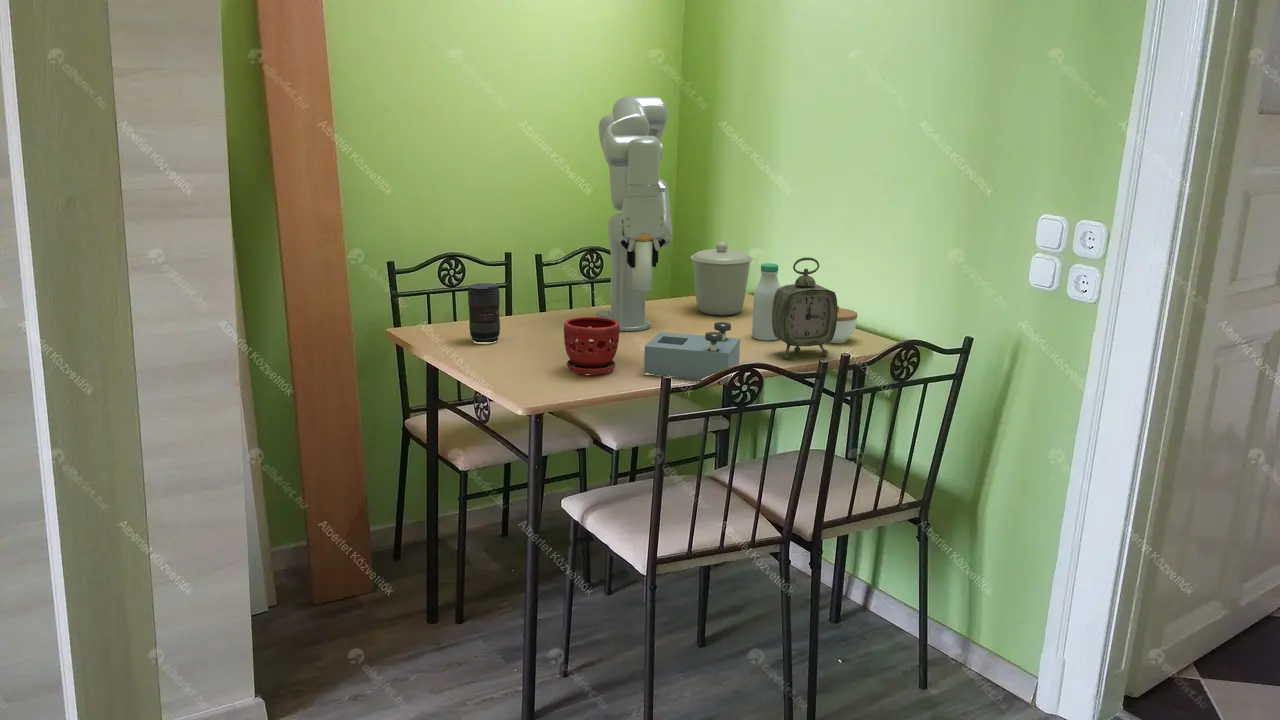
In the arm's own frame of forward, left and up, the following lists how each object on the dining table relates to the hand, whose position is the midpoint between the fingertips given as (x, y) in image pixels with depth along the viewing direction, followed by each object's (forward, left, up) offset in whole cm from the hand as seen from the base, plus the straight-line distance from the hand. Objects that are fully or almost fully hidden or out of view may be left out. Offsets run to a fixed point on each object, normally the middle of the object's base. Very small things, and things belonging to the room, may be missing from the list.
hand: (642, 265), depth 244 cm
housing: (+15, -8, -23) cm, 29 cm away
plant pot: (-8, -15, -23) cm, 29 cm away
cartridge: (0, 0, -6) cm, 6 cm away
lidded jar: (+45, +31, -23) cm, 59 cm away
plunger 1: (+21, -13, -19) cm, 31 cm away
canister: (+9, +53, -23) cm, 59 cm away
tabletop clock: (+38, +14, -23) cm, 47 cm away
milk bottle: (+27, +28, -23) cm, 45 cm away
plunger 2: (+21, -3, -20) cm, 29 cm away
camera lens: (-43, +1, -23) cm, 49 cm away
